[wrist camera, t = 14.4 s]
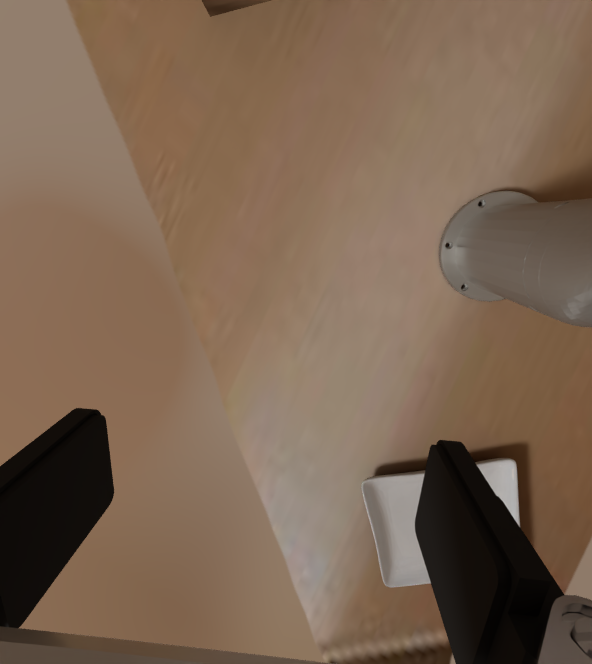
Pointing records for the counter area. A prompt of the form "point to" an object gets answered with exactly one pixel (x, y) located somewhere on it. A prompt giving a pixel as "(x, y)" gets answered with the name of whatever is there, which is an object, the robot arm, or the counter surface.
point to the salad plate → (400, 511)
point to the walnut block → (228, 5)
